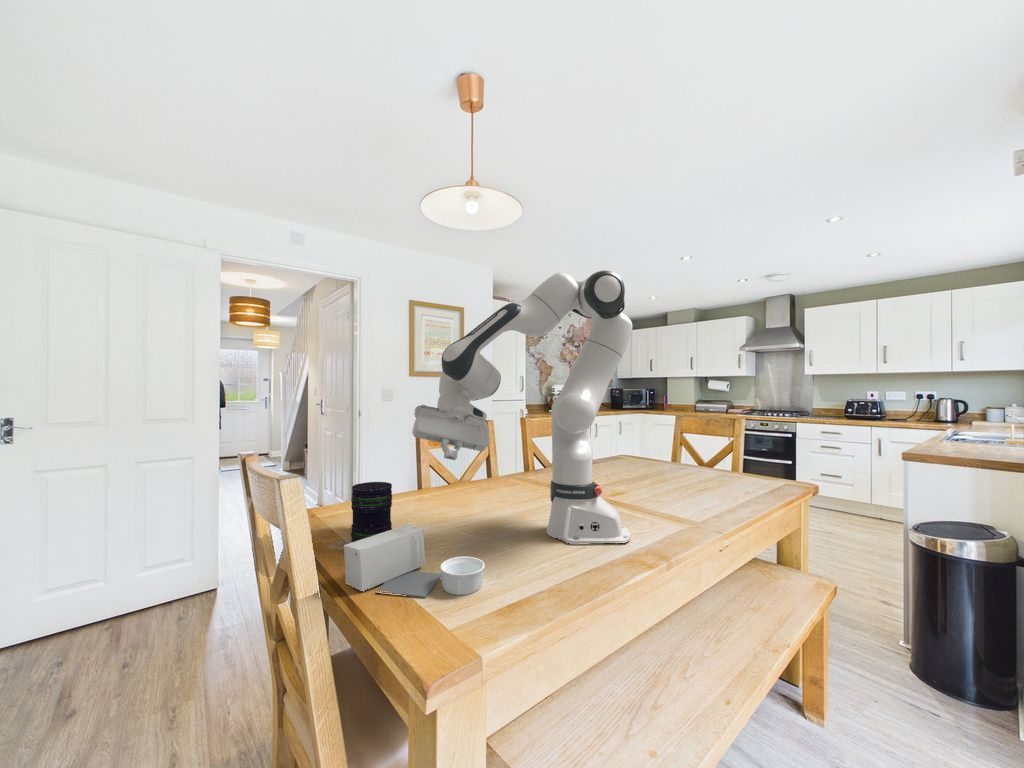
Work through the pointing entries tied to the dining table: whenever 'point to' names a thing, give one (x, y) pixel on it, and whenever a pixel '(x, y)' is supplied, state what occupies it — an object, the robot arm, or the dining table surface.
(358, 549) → the skincare box
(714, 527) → the dining table surface
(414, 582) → the mat
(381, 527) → the black cylinder
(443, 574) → the ramekin
